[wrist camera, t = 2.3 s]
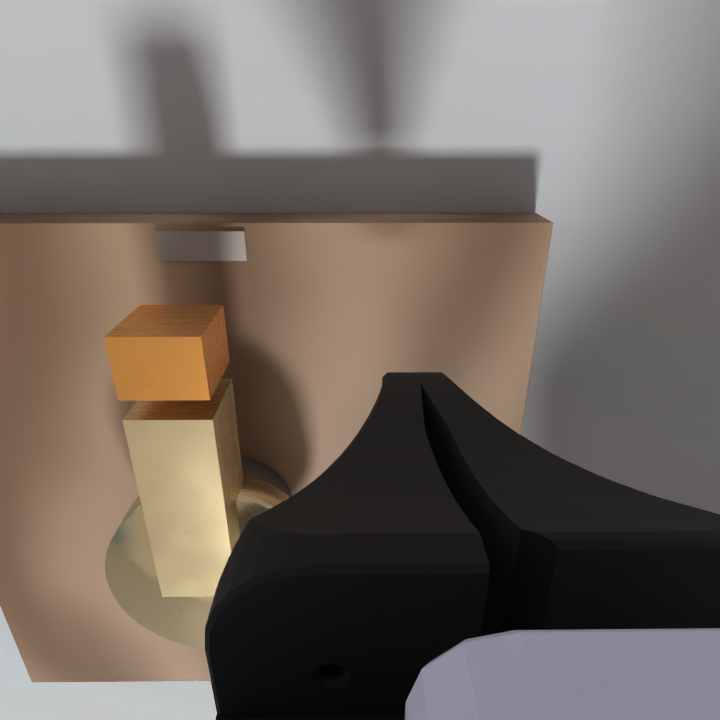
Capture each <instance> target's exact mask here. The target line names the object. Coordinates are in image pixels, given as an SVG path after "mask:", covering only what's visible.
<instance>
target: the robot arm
mask: <svg viewBox="0 0 720 720" xmlns="http://www.w3.org/2000/svg"><path fill="white" fill-rule="evenodd" d="M205 652H206V657H207V663H208V668H209V673H210V678H211V684H212V689H213V694H214V699H215V705H216V710H217V716H216V720H720V515H719V514H715V513H712V512H708V511H705V510H701V509H698V508H694V507H691V506H687V505H684V504H680V503H676V502H673V501H669V500H666V499H662V498H659V497H656V496H653V495H649V494H647V493H644V492H641V491H638V490H635V489H633V488H630V487H627V486H624V485H621V484H619V483H616V482H614V481H611V480H609V479H606V478H604V477H601V476H599V475H596V474H594V473H592V472H589V471H587V470H585V469H583V468H581V467H579V466H576V465H574V464H572V463H570V462H568V461H566V460H564V459H562V458H560V457H558V456H556V455H554V454H552V453H550V452H548V451H547V450H545V449H543V448H542V447H540V446H538V445H536V444H535V443H533V442H531V441H529V440H528V439H526V438H525V437H523V436H521V435H520V434H518V433H517V432H515V431H514V430H512V429H511V428H510V427H508V426H507V425H505V424H504V423H503V422H501V421H500V420H498V419H497V418H496V417H494V416H493V415H492V414H490V413H489V412H488V411H487V410H485V409H484V408H483V407H482V406H480V405H479V404H478V403H477V402H476V401H474V400H473V399H472V398H471V397H470V396H468V395H467V394H466V393H465V392H464V391H463V390H462V389H461V388H459V387H458V386H457V385H456V384H455V383H454V382H453V381H452V380H450V379H449V378H448V377H447V376H446V375H445V374H443V373H442V372H387V373H386V374H385V375H384V376H383V377H382V387H381V390H380V393H379V395H378V398H377V400H376V402H375V404H374V406H373V408H372V410H371V413H370V414H369V416H368V418H367V419H366V421H365V423H364V424H363V426H362V427H361V429H360V430H359V432H358V434H357V435H356V436H355V438H354V439H353V440H352V442H351V443H350V444H349V446H348V447H347V448H346V449H345V450H344V451H343V453H342V454H341V455H340V456H339V457H338V458H337V459H336V460H335V461H334V462H333V463H332V464H331V465H330V466H329V467H328V468H327V469H326V470H325V471H324V472H323V473H322V474H321V475H320V476H319V477H317V478H316V479H315V480H314V481H313V482H311V483H310V484H309V485H307V486H306V487H305V488H303V489H302V490H300V491H299V492H297V493H296V494H295V495H293V496H291V497H290V498H288V499H287V500H285V501H283V502H281V503H279V504H278V505H276V506H274V507H272V508H270V509H268V510H267V511H265V512H263V513H261V514H259V515H257V516H255V517H253V518H251V519H250V520H249V521H248V522H247V524H246V525H245V527H244V529H243V531H242V533H241V534H240V536H239V538H238V540H237V542H236V544H235V546H234V548H233V550H232V552H231V554H230V556H229V558H228V561H227V563H226V565H225V567H224V570H223V572H222V574H221V577H220V579H219V582H218V585H217V588H216V591H215V595H214V598H213V602H212V605H211V609H210V612H209V616H208V619H207V623H206V626H205Z"/></svg>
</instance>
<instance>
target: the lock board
mask: <svg viewBox="0 0 720 720" xmlns="http://www.w3.org/2000/svg"><path fill="white" fill-rule="evenodd" d="M552 227H553V222H551V221H549V220H547V219H545V218H544V217H542V216H540V215H538V214H536V213H253V214H0V606H1V608H2V611H3V613H4V616H5V618H6V620H7V623H8V625H9V628H10V630H11V632H12V635H13V637H14V640H15V642H16V645H17V647H18V649H19V652H20V654H21V657H22V659H23V661H24V664H25V666H26V669H27V671H28V674H29V676H30V678H31V681H32V682H117V681H211V678H210V673H209V668H208V663H207V657H206V652H205V649H204V648H196V647H192V646H187V645H183V644H180V643H177V642H173V641H171V640H168V639H166V638H163V637H161V636H159V635H157V634H155V633H153V632H151V631H149V630H148V629H146V628H145V627H143V626H142V625H140V624H139V623H138V622H136V621H135V620H134V619H133V618H131V617H130V616H129V615H128V614H127V613H126V612H125V611H124V610H123V609H122V607H121V606H120V605H119V603H118V602H117V601H116V599H115V597H114V596H113V594H112V592H111V590H110V588H109V585H108V582H107V579H106V573H105V557H106V552H107V549H108V546H109V543H110V541H111V539H112V537H113V536H114V534H115V532H116V530H117V529H118V527H119V525H120V523H121V522H122V520H123V518H124V516H125V515H126V513H127V511H128V510H129V508H130V506H131V505H132V503H133V502H134V501H135V499H136V498H137V497H138V496H139V492H138V487H137V483H136V478H135V474H134V470H133V465H132V461H131V456H130V452H129V447H128V443H127V438H126V434H125V430H124V425H123V421H122V420H123V419H124V418H125V416H126V415H127V414H128V412H129V411H130V410H131V408H132V407H133V406H134V404H135V403H136V402H137V401H118V399H117V394H116V390H115V385H114V381H113V376H112V372H111V368H110V363H109V359H108V354H107V350H106V345H105V341H104V336H105V335H107V334H108V333H109V332H110V331H111V330H112V329H113V328H114V327H116V326H117V325H118V324H119V323H120V322H121V321H122V320H123V319H125V318H126V317H127V316H128V315H129V314H130V313H131V312H132V311H134V310H135V309H136V308H137V307H138V306H139V305H223V307H224V315H225V324H226V332H227V341H228V349H229V358H230V362H229V364H228V366H227V368H226V370H225V372H224V374H223V376H222V378H221V379H232V384H233V392H234V401H235V409H236V418H237V426H238V435H239V444H240V452H241V461H242V469H243V474H245V475H249V476H252V477H255V478H258V479H260V480H263V481H265V482H267V483H269V484H271V485H273V486H275V487H276V488H278V489H279V490H281V491H282V492H284V493H285V494H287V495H288V496H289V497H291V496H293V495H295V494H296V493H297V492H299V491H300V490H302V489H303V488H305V487H306V486H307V485H309V484H310V483H311V482H313V481H314V480H315V479H316V478H317V477H319V476H320V475H321V474H322V473H323V472H324V471H325V470H326V469H327V468H328V467H329V466H330V465H331V464H332V463H333V462H334V461H335V460H336V459H337V458H338V457H339V456H340V455H341V454H342V453H343V451H344V450H345V449H346V448H347V447H348V446H349V444H350V443H351V442H352V440H353V439H354V438H355V436H356V435H357V434H358V432H359V430H360V429H361V427H362V426H363V424H364V423H365V421H366V419H367V418H368V416H369V414H370V413H371V410H372V408H373V406H374V404H375V402H376V400H377V398H378V395H379V393H380V390H381V387H382V377H383V376H384V375H385V374H386V373H387V372H442V373H443V374H445V375H446V376H447V377H448V378H449V379H450V380H452V381H453V382H454V383H455V384H456V385H457V386H458V387H459V388H461V389H462V390H463V391H464V392H465V393H466V394H467V395H468V396H470V397H471V398H472V399H473V400H474V401H476V402H477V403H478V404H479V405H480V406H482V407H483V408H484V409H485V410H487V411H488V412H489V413H490V414H492V415H493V416H494V417H496V418H497V419H498V420H500V421H501V422H503V423H504V424H505V425H507V426H508V427H510V428H511V429H512V430H514V431H515V432H517V433H518V434H521V427H522V421H523V415H524V408H525V402H526V395H527V389H528V382H529V376H530V369H531V363H532V356H533V350H534V343H535V337H536V330H537V324H538V317H539V311H540V304H541V298H542V291H543V285H544V278H545V272H546V265H547V259H548V252H549V246H550V240H551V233H552Z"/></svg>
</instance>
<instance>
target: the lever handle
mask: <svg viewBox="0 0 720 720" xmlns="http://www.w3.org/2000/svg"><path fill="white" fill-rule="evenodd" d="M104 341H105V345H106V350H107V354H108V359H109V363H110V368H111V372H112V376H113V381H114V385H115V390H116V394H117V399H118V401H137V402H136V403H135V404H134V406H133V407H132V408H131V410H130V411H129V412H128V414H127V415H126V416H125V418H124V419H123V420H122V421H123V425H124V430H125V434H126V438H127V443H128V447H129V452H130V456H131V461H132V465H133V470H134V474H135V478H136V483H137V487H138V492H139V496H138V497H137V498H136V499H135V501H134V502H133V503H132V505H131V506H130V508H129V510H128V511H127V513H126V515H125V516H124V518H123V520H122V522H121V523H120V525H119V527H118V529H117V530H116V532H115V534H114V536H113V537H112V539H111V541H110V543H109V546H108V549H107V552H106V557H105V573H106V579H107V582H108V585H109V588H110V590H111V592H112V594H113V596H114V597H115V599H116V601H117V602H118V603H119V605H120V606H121V607H122V609H123V610H124V611H125V612H126V613H127V614H128V615H129V616H130V617H131V618H133V619H134V620H135V621H136V622H138V623H139V624H140V625H142V626H143V627H145V628H146V629H148V630H149V631H151V632H153V633H155V634H157V635H159V636H161V637H163V638H166V639H168V640H171V641H173V642H177V643H180V644H183V645H187V646H192V647H196V648H204V649H205V626H206V623H207V619H208V616H209V612H210V609H211V605H212V602H213V598H214V595H215V591H216V588H217V585H218V582H219V579H220V577H221V574H222V572H223V570H224V567H225V565H226V563H227V561H228V558H229V556H230V554H231V552H232V550H233V548H234V546H235V544H236V542H237V540H238V538H239V536H240V534H241V533H242V531H243V529H244V527H245V525H246V524H247V522H248V521H249V520H250V519H251V518H253V517H255V516H257V515H259V514H261V513H263V512H265V511H267V510H268V509H270V508H272V507H274V506H276V505H278V504H279V503H281V502H283V501H285V500H287V499H288V498H290V497H289V496H288V495H287V494H285V493H284V492H282V491H281V490H279V489H278V488H276V487H275V486H273V485H271V484H269V483H267V482H265V481H263V480H260V479H258V478H255V477H252V476H249V475H245V474H243V469H242V461H241V452H240V444H239V435H238V426H237V418H236V409H235V401H234V392H233V384H232V379H221V378H222V376H223V374H224V372H225V370H226V368H227V366H228V364H229V362H230V358H229V349H228V341H227V332H226V324H225V315H224V307H223V305H139V306H138V307H137V308H136V309H135V310H134V311H132V312H131V313H130V314H129V315H128V316H127V317H126V318H125V319H123V320H122V321H121V322H120V323H119V324H118V325H117V326H116V327H114V328H113V329H112V330H111V331H110V332H109V333H108V334H107V335H105V336H104Z"/></svg>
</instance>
